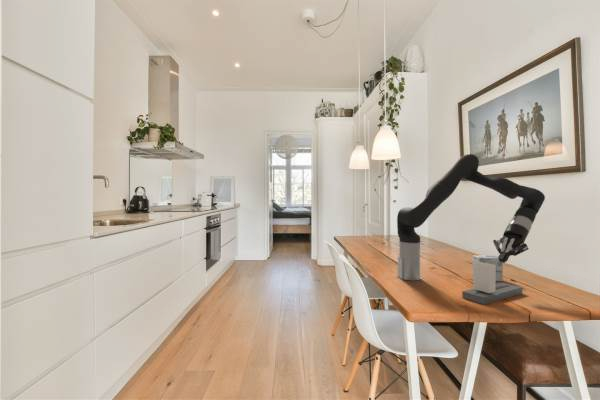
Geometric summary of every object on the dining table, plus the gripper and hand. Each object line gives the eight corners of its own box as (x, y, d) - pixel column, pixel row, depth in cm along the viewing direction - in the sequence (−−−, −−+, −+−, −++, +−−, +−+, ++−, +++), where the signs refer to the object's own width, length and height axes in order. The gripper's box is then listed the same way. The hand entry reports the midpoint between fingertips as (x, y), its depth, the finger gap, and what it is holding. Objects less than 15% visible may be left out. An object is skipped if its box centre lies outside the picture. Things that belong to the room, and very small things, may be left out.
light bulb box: (495, 277, 141) (495, 255, 141) (503, 281, 135) (503, 258, 135) (471, 277, 142) (471, 254, 142) (478, 281, 136) (478, 257, 136)
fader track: (485, 305, 105) (485, 297, 105) (460, 297, 113) (460, 290, 113) (524, 294, 117) (524, 287, 117) (499, 287, 125) (499, 281, 125)
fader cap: (489, 293, 108) (489, 265, 108) (473, 288, 114) (473, 262, 114) (495, 291, 110) (495, 264, 110) (479, 287, 116) (479, 261, 116)
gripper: (540, 237, 119) (523, 271, 113) (504, 233, 130) (487, 263, 125) (533, 224, 116) (516, 258, 111) (497, 221, 128) (480, 252, 122)
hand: (501, 261), depth 118 cm, fingers closed
